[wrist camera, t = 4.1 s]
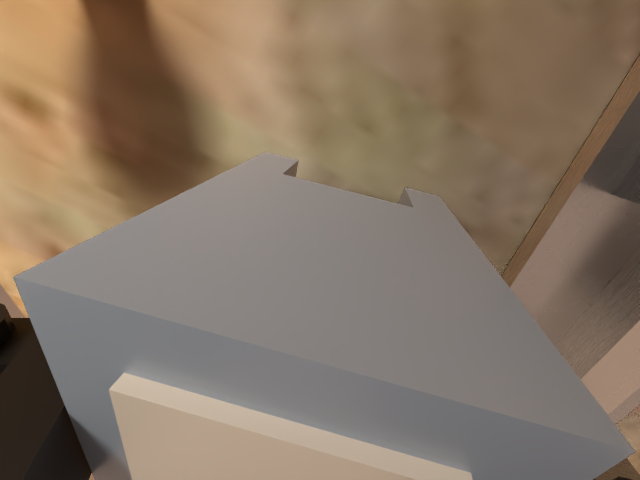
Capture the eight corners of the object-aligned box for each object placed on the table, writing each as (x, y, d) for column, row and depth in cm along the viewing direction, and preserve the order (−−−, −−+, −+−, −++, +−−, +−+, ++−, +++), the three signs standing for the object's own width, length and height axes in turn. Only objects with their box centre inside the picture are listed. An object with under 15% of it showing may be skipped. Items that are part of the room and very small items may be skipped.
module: (265, 151, 11) (-14, 290, 3) (438, 195, 11) (657, 480, 3) (249, 292, 15) (101, 533, 6) (380, 328, 14) (397, 625, 6)
